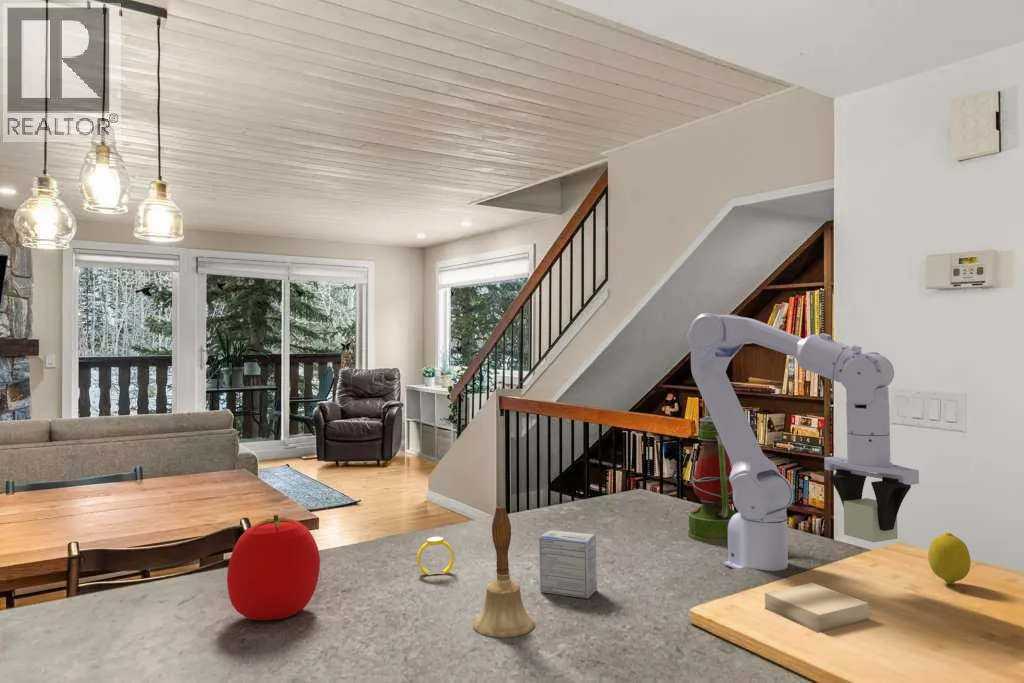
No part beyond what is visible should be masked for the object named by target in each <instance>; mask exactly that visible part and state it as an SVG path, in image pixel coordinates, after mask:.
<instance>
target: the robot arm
mask: <svg viewBox="0 0 1024 683" xmlns="http://www.w3.org/2000/svg"><path fill="white" fill-rule="evenodd" d="M686 339H687V341H688V343H689V346H690V370H691V371H690V372H691V374H692V378H693V379H694V382H695V383H696V386H697V390H698V391H699V394H700V395H701V397H702V400H703V402H704V405H705V404H706V407H707V412H708V414H709V416H711V418H712V420H713V422H714V425H715V427H716V429H717V431H718V434H719V436H720V438H721V441H722V443H723V445H724V447H725V450H726V452H727V454H728V457H729V460H730V464H731V468H732V471H731V474H730V477H729V481H730V483H731V485H732V489H733V496H732V500H733V501H732V502H733V504H734V507H735V509H736V510H737V511H738V512H737V513H736V514H735V515H733V516H732V518H731V519H730V521H729V524H728V544H727V560H726V561H724V565H725V566H727V567H729V568H732V569H734V570H735V569H736V570H737V569H742V568H743V569H744V568H751V569H754V570H759V571H760V570H761V571H771V572H773V571H781V570H785V569H787V568H788V567H789V562H788V561H789V559H788V558H789V553H788V551H789V550H788V514H787V509H788V508H789V507H790V506H791V504H792V502H793V501H794V489H793V486H792V484H791V483H790V481H789V480H788V479H787V478H786V477H784V475H782V473H781V472H780V470H779V468H778V467H777V464H776V463H774V462H773V461H772V460H770V459H769V458H768V457H767V456H766V455H765V454H764V453H763V450H762V448H761V446H760V444H759V442H758V439H757V438H756V435H755V434H754V430H753V429H752V426H751V424H750V423H749V420H748V418H747V415H746V413H745V412H744V409H743V407H742V405H741V403H740V400H739V398H738V396H737V394H736V392H735V389H734V387H733V386H732V383H731V381H730V378H729V377H728V374H727V373H726V372H727V370H728V367H729V364H730V362H731V361H732V359H733V358H734V357H735V355H736V354H737V353H738V352H740V350H741V348H742V347H743V346H744V345H746V344H749V345H750V344H755V345H758V346H762V347H763V348H767V349H771V350H772V351H773V350H774V351H776V352H779V353H782V354H785V355H789V356H792V357H794V358H795V360H796V362H797V363H796V364H798V367H800V368H801V369H803V370H806V371H808V372H811V373H814V374H816V375H819V376H822V377H824V378H827V379H829V380H831V381H834V382H837V383H841V385H842V386H843V388H845V390H846V392H845V395H846V403H845V404H846V406H845V407H846V411H845V412H846V414H845V415H846V454H847V456H846V457H837V456H828V457H824V460H823V461H824V470H825V471H826V470H827V471H836V472H835V473H834V474H829V480H830V482H831V483H832V485H833V486H834V488H835V490H836V492H837V494H838V496H839V498H840V501H841V504H842V507H843V508H844V501H849V500H857V499H863V492H864V491H863V490H864V488H865V483H866V479H867V477H868V478H875V479H881V480H877V481H871V487H872V490H873V492H874V496H875V500H876V501H877V506H878V522H879V527H880V530H882V531H888V530H893V529H894V525H895V521H896V517H897V518H898V513H899V510H900V508H901V505H902V503H903V501H904V499H905V497H906V495H907V494H908V493H909V491H910V490H911V488H912V485H919V484H920V476H919V475H920V471H919V469H916V468H915V469H914V468H910V467H905V466H902V465H897V464H893V462H892V461H891V427H890V426H891V424H890V422H891V421H890V420H891V419H890V417H891V416H890V401H889V400H890V399H889V396H890V395H889V394H890V392H889V385H891V383H892V381H893V379H894V376H895V369H894V366H893V363H891V361H890V360H889V359H888V358H887V357H885V356H884V355H882V354H880V353H879V352H878V351H877V352H875V351H871V352H870V351H869V352H865V353H863V352H862V346H859V345H856V344H853V345H852V346H849V345H847V344H844V343H841V342H838V341H835V340H833V339H832V335H831V334H828V333H824V332H823V333H819V335H818V334H811V335H808V336H806V337H804V338H802V337H800V336H797V335H795V334H793V333H791V332H788V331H786V330H782V329H781V328H778V327H775V326H773V325H770V324H768V323H765V322H763V321H761V320H757V319H754V318H750V317H744V316H739V315H737V314H714V313H711V312H704V313H701V314H698V315H697V316H696V317H695V318H693V320H692V322H691V324H690V327H689V330H688V332H687V334H686Z"/></svg>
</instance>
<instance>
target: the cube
mask: <svg viewBox="0 0 1024 683" xmlns="http://www.w3.org/2000/svg"><path fill="white" fill-rule="evenodd" d="M843 534H844V535H845V536H848V537H852V538H854V539H855V538H856V539H859V540H863V541H866V542H870V543H879V542H885V541H886V542H887V541H891V540H898V516H897V517H896V521H895V525H894V529H893V530H888V531H882V530H880V527H879V522H878V506H877V501H876V499H873V498H868V497H867V498H862V499H857V500H849V501H844V507H843Z"/></svg>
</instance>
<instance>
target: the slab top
mask: <svg viewBox="0 0 1024 683" xmlns="http://www.w3.org/2000/svg"><path fill="white" fill-rule="evenodd" d="M765 608H767V609H770V610H772V611H774V612H777V613H779V614H781V615H784V616H786V617H788V618H791V619H793V620H795V621H798V622H800V623H802V624H805V625H807V626H809V627H812V628H814V629H816V630H818V631H821V632H823V631H822V630H825V629H829V628H833V627H837V626H841V625H845V624H849V623H853V622H857V621H860V620H864V619H868V620H869V619H870V618H869V617H870V616H869V614H870V613H869V609H870V608H869V602H867V601H864V600H861V599H858V598H856V597H853V596H850V595H847V594H845V593H841V592H840V591H836V590H834V589H830V588H827V587H825V586H822V585H819V584H817V583H815V582H809V583H805V584H799V585H795V586H792V587H786V588H782V589H781V588H780V589H777V590H772V591H768V592H764V609H765ZM767 609H766V610H767Z"/></svg>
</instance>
